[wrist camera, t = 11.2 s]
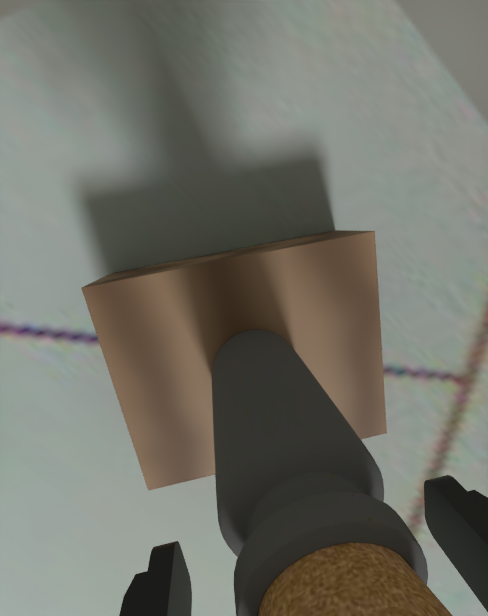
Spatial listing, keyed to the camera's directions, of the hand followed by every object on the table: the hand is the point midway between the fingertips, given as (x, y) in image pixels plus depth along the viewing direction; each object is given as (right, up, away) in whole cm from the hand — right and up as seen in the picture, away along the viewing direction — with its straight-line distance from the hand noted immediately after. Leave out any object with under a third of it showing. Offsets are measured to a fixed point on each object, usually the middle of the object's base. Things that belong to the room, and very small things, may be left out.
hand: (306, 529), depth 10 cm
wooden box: (-2, +4, +16) cm, 17 cm away
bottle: (-1, +3, +11) cm, 11 cm away
